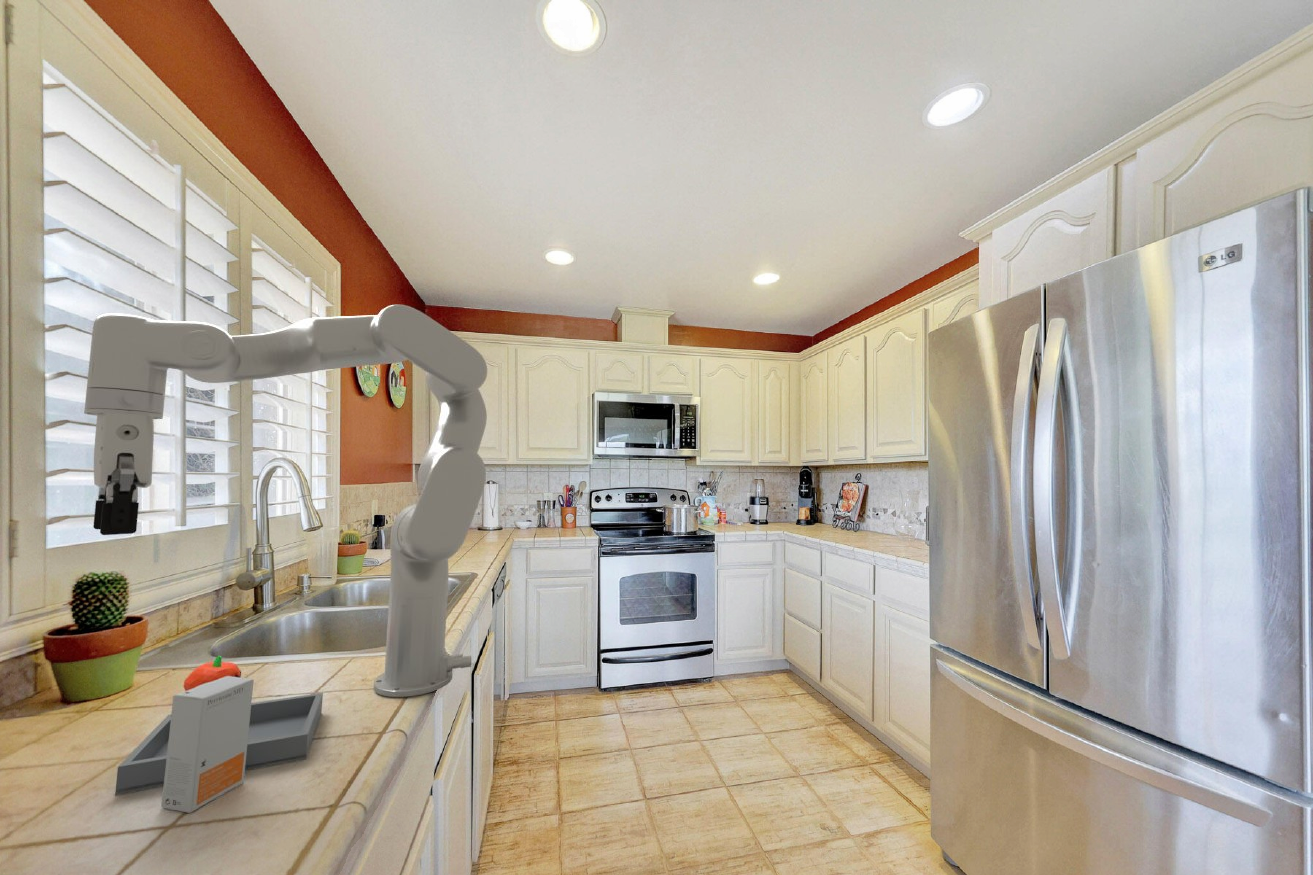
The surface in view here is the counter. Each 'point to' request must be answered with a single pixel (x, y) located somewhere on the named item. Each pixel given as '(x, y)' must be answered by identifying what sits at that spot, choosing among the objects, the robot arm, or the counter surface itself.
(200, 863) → the counter surface
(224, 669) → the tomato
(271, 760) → the tray
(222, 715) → the skincare box
